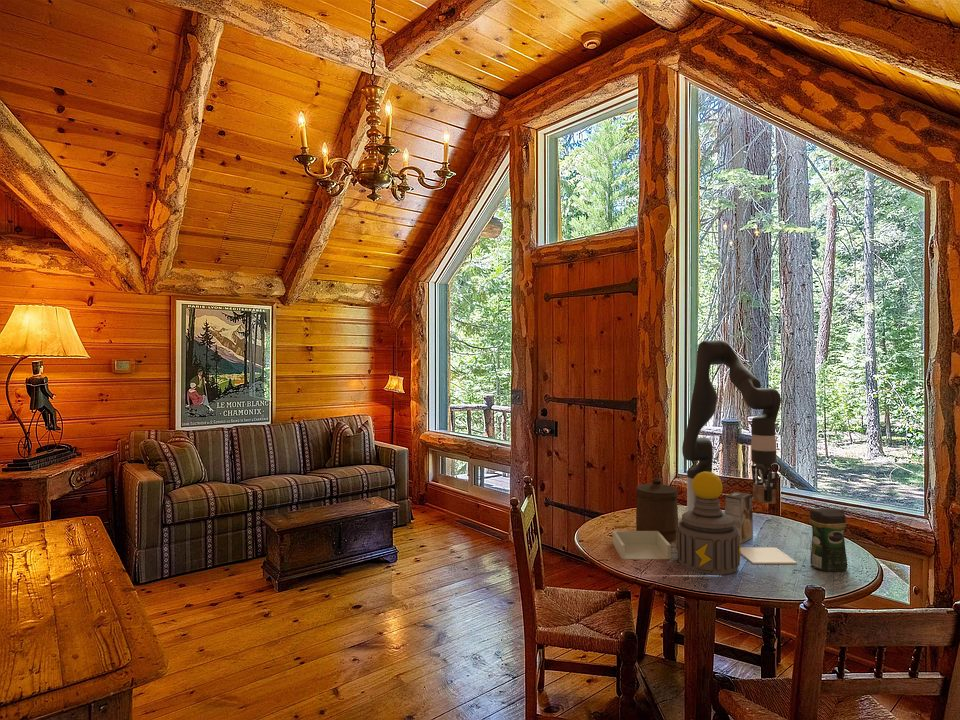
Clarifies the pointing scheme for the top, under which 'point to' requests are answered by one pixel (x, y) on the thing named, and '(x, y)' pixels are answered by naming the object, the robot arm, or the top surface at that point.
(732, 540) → the decorative lamp
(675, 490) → the wooden container
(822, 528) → the coffee jar
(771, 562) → the mat
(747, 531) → the coffee box
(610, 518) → the top surface
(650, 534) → the open box
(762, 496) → the walnut block
